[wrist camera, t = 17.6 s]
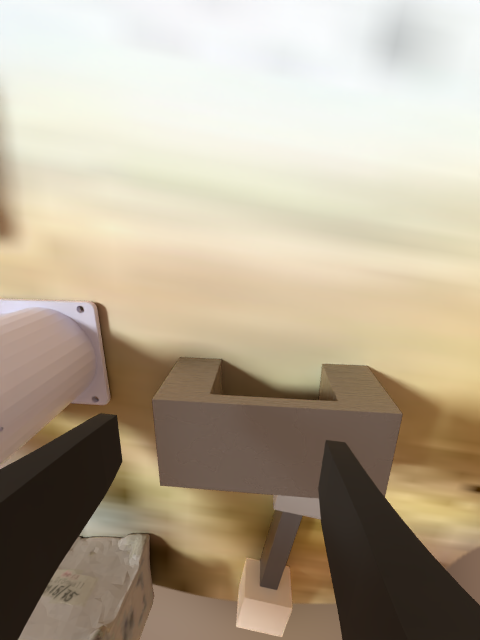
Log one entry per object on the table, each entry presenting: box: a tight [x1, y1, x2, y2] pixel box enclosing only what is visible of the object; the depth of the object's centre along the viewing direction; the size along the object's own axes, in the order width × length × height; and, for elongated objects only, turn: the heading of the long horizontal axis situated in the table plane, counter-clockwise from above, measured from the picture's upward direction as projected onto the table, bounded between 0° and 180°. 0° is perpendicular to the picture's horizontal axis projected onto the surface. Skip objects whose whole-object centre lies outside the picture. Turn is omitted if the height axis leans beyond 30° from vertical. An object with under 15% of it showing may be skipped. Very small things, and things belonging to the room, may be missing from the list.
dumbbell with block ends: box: [236, 495, 321, 637], centre depth 23 cm, size 4×16×3 cm, turn 170°
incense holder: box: [18, 534, 154, 640], centre depth 23 cm, size 10×8×10 cm
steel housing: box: [152, 357, 403, 499], centre depth 18 cm, size 13×6×5 cm, turn 89°
